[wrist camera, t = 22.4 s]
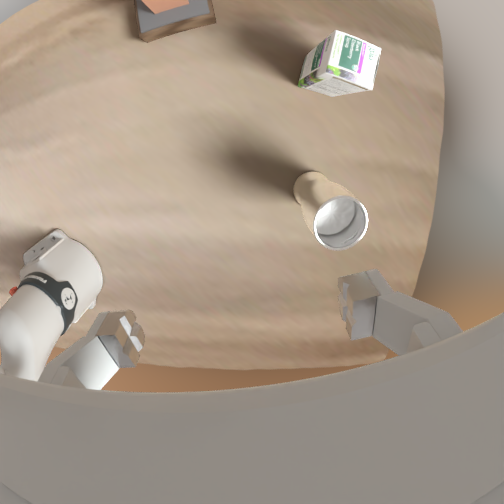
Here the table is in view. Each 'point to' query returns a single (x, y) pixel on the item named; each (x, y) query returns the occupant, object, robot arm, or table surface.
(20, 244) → the table surface
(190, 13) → the walnut plinth
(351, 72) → the syrup box
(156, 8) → the terracotta block
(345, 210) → the beer glass
